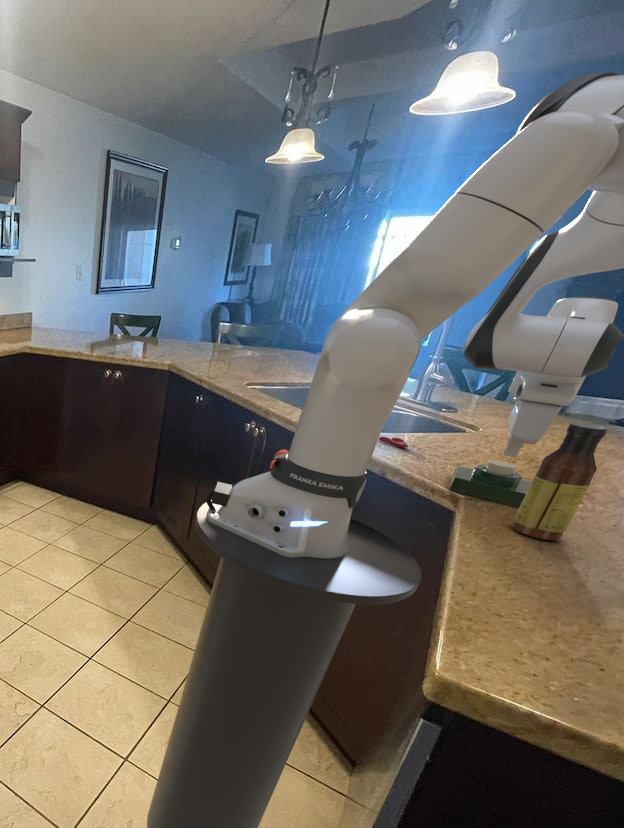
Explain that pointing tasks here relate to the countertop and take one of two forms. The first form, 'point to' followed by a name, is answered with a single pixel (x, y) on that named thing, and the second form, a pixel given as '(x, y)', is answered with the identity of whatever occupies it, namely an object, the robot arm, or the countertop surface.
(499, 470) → the white short cylinder
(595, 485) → the countertop surface
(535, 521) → the sauce bottle
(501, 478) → the base
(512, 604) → the countertop surface
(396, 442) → the scissors
